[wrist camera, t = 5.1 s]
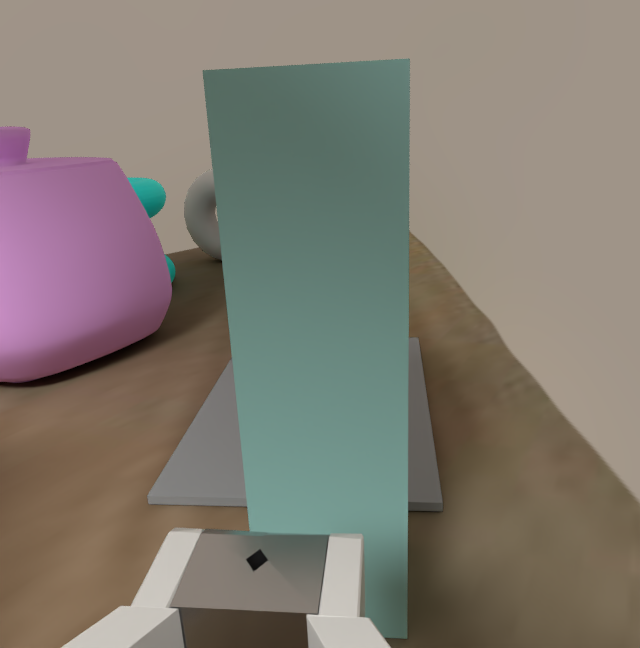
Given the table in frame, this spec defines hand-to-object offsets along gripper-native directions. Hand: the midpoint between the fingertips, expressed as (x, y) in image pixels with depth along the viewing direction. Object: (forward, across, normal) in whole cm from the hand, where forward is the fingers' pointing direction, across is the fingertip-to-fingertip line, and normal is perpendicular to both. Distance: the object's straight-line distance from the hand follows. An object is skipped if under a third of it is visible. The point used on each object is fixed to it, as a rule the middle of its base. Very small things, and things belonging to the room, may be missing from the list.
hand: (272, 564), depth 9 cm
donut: (+56, +15, +9) cm, 58 cm away
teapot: (+30, +23, +9) cm, 39 cm away
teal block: (+9, 0, +8) cm, 12 cm away
